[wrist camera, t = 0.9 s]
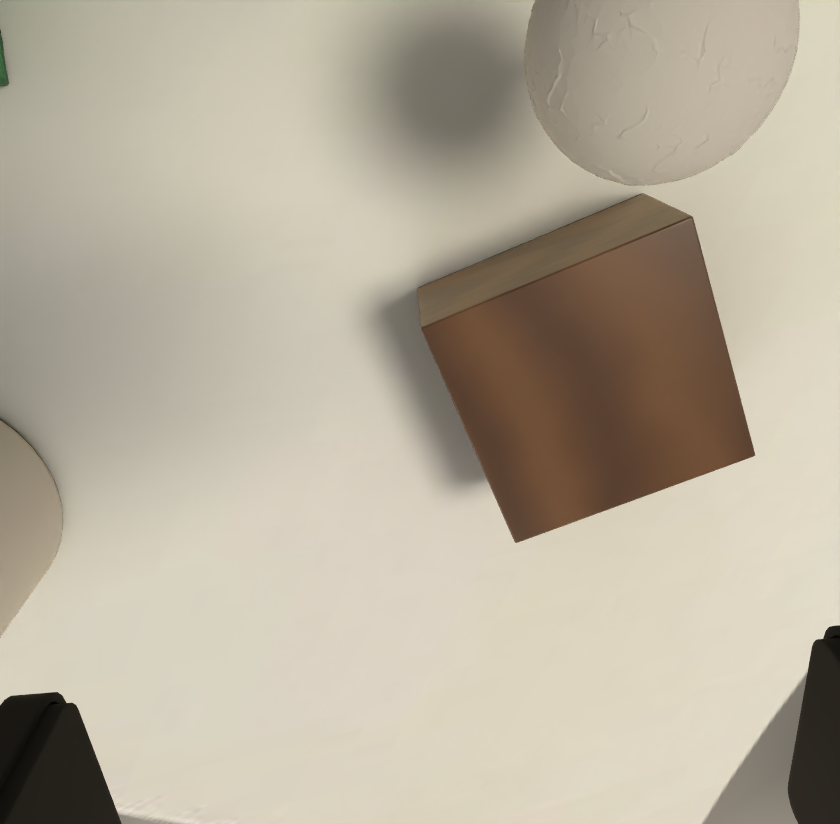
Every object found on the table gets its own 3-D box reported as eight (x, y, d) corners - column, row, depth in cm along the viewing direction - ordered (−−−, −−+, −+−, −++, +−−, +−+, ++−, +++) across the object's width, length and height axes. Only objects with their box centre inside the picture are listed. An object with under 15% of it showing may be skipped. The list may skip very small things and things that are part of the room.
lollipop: (675, -22, 30) (912, -100, 16) (624, 162, 33) (790, 225, 19) (501, -60, 29) (598, -175, 16) (465, 132, 32) (520, 176, 19)
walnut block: (644, 192, 33) (693, 215, 28) (703, 401, 38) (756, 456, 32) (416, 288, 35) (420, 328, 29) (498, 478, 39) (515, 544, 34)
